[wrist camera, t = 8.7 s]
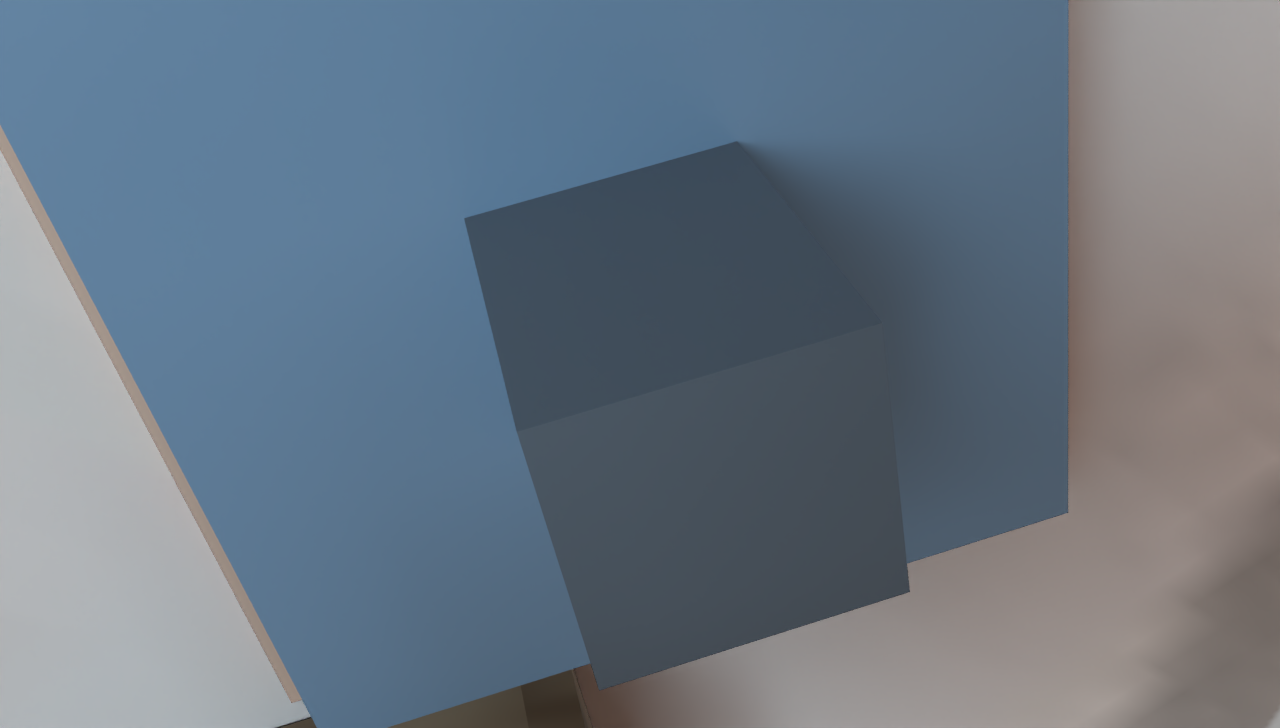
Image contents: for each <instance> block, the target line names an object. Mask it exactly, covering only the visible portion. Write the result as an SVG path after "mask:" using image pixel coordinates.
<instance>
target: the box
mask: <svg viewBox="0 0 1280 728" xmlns="http://www.w3.org/2000/svg"><path fill="white" fill-rule="evenodd" d="M281 728H317V727H316V725H315V723H314V721H313V719H312V718H310V719H306V720H303V721H300V722H297V723H293V724H290V725H287V726H284V727H281ZM387 728H592V724H591V721H590V718H589V715H588V712H587V709H586V706H585V703H584V700H583V697H582V694H581V691H580V688H579V684H578V681H577V678H576V675H575V672H574V669H571V670H568V671H565V672H562V673H558V674H555V675H552V676H549V677H546V678H543V679H539V680H536V681H533V682H530V683H527V684H524V685H520V686H517V687H514V688H511V689H508V690H505V691H501V692H498V693H495V694H492V695H489V696H486V697H482V698H479V699H476V700H473V701H470V702H467V703H463V704H460V705H457V706H454V707H451V708H448V709H444V710H441V711H438V712H435V713H432V714H429V715H425V716H422V717H419V718H416V719H413V720H410V721H406V722H403V723H400V724H397V725H394V726H391V727H387Z"/></svg>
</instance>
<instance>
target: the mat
mask: <svg viewBox="0 0 1280 728" xmlns="http://www.w3.org/2000/svg"><path fill="white" fill-rule="evenodd" d="M0 150H1V152H2V154H3V156H4V158H5V159H6V161H7V163H8V165H9V167H10V169H11V171H12V173H13V175H14V177H15V178H16V180H17V182H18V184H19V186H20V188H21V190H22V192H23V194H24V196H25V197H26V199H27V201H28V203H29V205H30V207H31V209H32V211H33V213H34V215H35V216H36V218H37V220H38V222H39V224H40V226H41V228H42V230H43V232H44V234H45V235H46V237H47V239H48V241H49V243H50V245H51V247H52V249H53V251H54V253H55V254H56V256H57V258H58V260H59V262H60V264H61V266H62V268H63V270H64V272H65V273H66V275H67V277H68V279H69V281H70V283H71V285H72V287H73V289H74V291H75V292H76V294H77V296H78V298H79V300H80V302H81V304H82V306H83V308H84V310H85V311H86V313H87V315H88V317H89V319H90V321H91V323H92V325H93V327H94V329H95V330H96V332H97V334H98V336H99V338H100V340H101V342H102V344H103V346H104V348H105V349H106V351H107V353H108V355H109V357H110V359H111V361H112V363H113V365H114V367H115V368H116V370H117V372H118V374H119V376H120V378H121V380H122V382H123V384H124V386H125V387H126V389H127V391H128V393H129V395H130V397H131V399H132V401H133V403H134V405H135V406H136V408H137V410H138V412H139V414H140V416H141V418H142V420H143V422H144V424H145V425H146V427H147V429H148V431H149V433H150V435H151V437H152V439H153V441H154V443H155V444H156V446H157V448H158V450H159V452H160V454H161V456H162V458H163V460H164V462H165V463H166V465H167V467H168V469H169V471H170V473H171V475H172V477H173V479H174V481H175V482H176V484H177V486H178V488H179V490H180V492H181V494H182V496H183V498H184V500H185V501H186V503H187V505H188V507H189V509H190V511H191V513H192V515H193V517H194V519H195V520H196V522H197V524H198V526H199V528H200V530H201V532H202V534H203V536H204V538H205V539H206V541H207V543H208V545H209V547H210V549H211V551H212V553H213V555H214V557H215V558H216V560H217V562H218V564H219V566H220V568H221V570H222V572H223V574H224V576H225V577H226V579H227V581H228V583H229V585H230V587H231V589H232V591H233V593H234V595H235V596H236V598H237V600H238V602H239V604H240V606H241V608H242V610H243V612H244V614H245V615H246V617H247V619H248V621H249V623H250V625H251V627H252V629H253V631H254V633H255V634H256V636H257V638H258V640H259V642H260V644H261V646H262V648H263V650H264V652H265V653H266V655H267V657H268V659H269V661H270V663H271V665H272V667H273V669H274V671H275V672H276V674H277V676H278V678H279V680H280V682H281V684H282V686H283V688H284V690H285V691H286V693H287V695H288V697H289V699H290V701H291V703H293V702H297V701H300V700H302V698H301V696H300V695H299V693H298V691H297V689H296V687H295V685H294V683H293V681H292V679H291V677H290V676H289V674H288V672H287V670H286V668H285V666H284V664H283V662H282V660H281V658H280V657H279V655H278V653H277V651H276V649H275V647H274V645H273V643H272V641H271V639H270V637H269V636H268V634H267V632H266V630H265V628H264V626H263V624H262V622H261V620H260V618H259V617H258V615H257V613H256V611H255V609H254V607H253V605H252V603H251V601H250V599H249V598H248V596H247V594H246V592H245V590H244V588H243V586H242V584H241V582H240V580H239V578H238V577H237V575H236V573H235V571H234V569H233V567H232V565H231V563H230V561H229V559H228V558H227V556H226V554H225V552H224V550H223V548H222V546H221V544H220V542H219V540H218V538H217V537H216V535H215V533H214V531H213V529H212V527H211V525H210V523H209V521H208V519H207V518H206V516H205V514H204V512H203V510H202V508H201V506H200V504H199V502H198V500H197V499H196V497H195V495H194V493H193V491H192V489H191V487H190V485H189V483H188V481H187V479H186V478H185V476H184V474H183V472H182V470H181V468H180V466H179V464H178V462H177V460H176V459H175V457H174V455H173V453H172V451H171V449H170V447H169V445H168V443H167V441H166V440H165V438H164V436H163V434H162V432H161V430H160V428H159V426H158V424H157V422H156V420H155V419H154V417H153V415H152V413H151V411H150V409H149V407H148V405H147V403H146V401H145V400H144V398H143V396H142V394H141V392H140V390H139V388H138V386H137V384H136V382H135V381H134V379H133V377H132V375H131V373H130V371H129V369H128V367H127V365H126V363H125V361H124V360H123V358H122V356H121V354H120V352H119V350H118V348H117V346H116V344H115V342H114V341H113V339H112V337H111V335H110V333H109V331H108V329H107V327H106V325H105V323H104V321H103V320H102V318H101V316H100V314H99V312H98V310H97V308H96V306H95V304H94V302H93V301H92V299H91V297H90V295H89V293H88V291H87V289H86V287H85V285H84V283H83V282H82V280H81V278H80V276H79V274H78V272H77V270H76V268H75V266H74V264H73V262H72V261H71V259H70V257H69V255H68V253H67V251H66V249H65V247H64V245H63V243H62V242H61V240H60V238H59V236H58V234H57V232H56V230H55V228H54V226H53V224H52V223H51V221H50V219H49V217H48V215H47V213H46V211H45V209H44V207H43V205H42V203H41V202H40V200H39V198H38V196H37V194H36V192H35V190H34V188H33V186H32V184H31V183H30V181H29V179H28V177H27V175H26V173H25V171H24V169H23V167H22V165H21V164H20V162H19V160H18V158H17V156H16V154H15V152H14V150H13V148H12V146H11V144H10V143H9V141H8V139H7V137H6V135H5V133H4V131H3V129H2V127H1V125H0Z"/></svg>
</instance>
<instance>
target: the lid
mask: <svg viewBox="0 0 1280 728" xmlns="http://www.w3.org/2000/svg"><path fill="white" fill-rule="evenodd" d="M0 125H1V127H2V129H3V131H4V133H5V135H6V137H7V139H8V141H9V143H10V144H11V146H12V148H13V150H14V152H15V154H16V156H17V158H18V160H19V162H20V164H21V165H22V167H23V169H24V171H25V173H26V175H27V177H28V179H29V181H30V183H31V184H32V186H33V188H34V190H35V192H36V194H37V196H38V198H39V200H40V202H41V203H42V205H43V207H44V209H45V211H46V213H47V215H48V217H49V219H50V221H51V223H52V224H53V226H54V228H55V230H56V232H57V234H58V236H59V238H60V240H61V242H62V243H63V245H64V247H65V249H66V251H67V253H68V255H69V257H70V259H71V261H72V262H73V264H74V266H75V268H76V270H77V272H78V274H79V276H80V278H81V280H82V282H83V283H84V285H85V287H86V289H87V291H88V293H89V295H90V297H91V299H92V301H93V302H94V304H95V306H96V308H97V310H98V312H99V314H100V316H101V318H102V320H103V321H104V323H105V325H106V327H107V329H108V331H109V333H110V335H111V337H112V339H113V341H114V342H115V344H116V346H117V348H118V350H119V352H120V354H121V356H122V358H123V360H124V361H125V363H126V365H127V367H128V369H129V371H130V373H131V375H132V377H133V379H134V381H135V382H136V384H137V386H138V388H139V390H140V392H141V394H142V396H143V398H144V400H145V401H146V403H147V405H148V407H149V409H150V411H151V413H152V415H153V417H154V419H155V420H156V422H157V424H158V426H159V428H160V430H161V432H162V434H163V436H164V438H165V440H166V441H167V443H168V445H169V447H170V449H171V451H172V453H173V455H174V457H175V459H176V460H177V462H178V464H179V466H180V468H181V470H182V472H183V474H184V476H185V478H186V479H187V481H188V483H189V485H190V487H191V489H192V491H193V493H194V495H195V497H196V499H197V500H198V502H199V504H200V506H201V508H202V510H203V512H204V514H205V516H206V518H207V519H208V521H209V523H210V525H211V527H212V529H213V531H214V533H215V535H216V537H217V538H218V540H219V542H220V544H221V546H222V548H223V550H224V552H225V554H226V556H227V558H228V559H229V561H230V563H231V565H232V567H233V569H234V571H235V573H236V575H237V577H238V578H239V580H240V582H241V584H242V586H243V588H244V590H245V592H246V594H247V596H248V598H249V599H250V601H251V603H252V605H253V607H254V609H255V611H256V613H257V615H258V617H259V618H260V620H261V622H262V624H263V626H264V628H265V630H266V632H267V634H268V636H269V637H270V639H271V641H272V643H273V645H274V647H275V649H276V651H277V653H278V655H279V657H280V658H281V660H282V662H283V664H284V666H285V668H286V670H287V672H288V674H289V676H290V677H291V679H292V681H293V683H294V685H295V687H296V689H297V691H298V693H299V695H300V696H301V698H302V700H303V702H304V704H305V706H306V708H307V710H308V712H309V714H310V716H311V717H312V719H313V721H314V723H315V725H316V727H317V728H387V727H391V726H394V725H397V724H400V723H403V722H406V721H410V720H413V719H416V718H419V717H422V716H425V715H429V714H432V713H435V712H438V711H441V710H444V709H448V708H451V707H454V706H457V705H460V704H463V703H467V702H470V701H473V700H476V699H479V698H482V697H486V696H489V695H492V694H495V693H498V692H501V691H505V690H508V689H511V688H514V687H517V686H520V685H524V684H527V683H530V682H533V681H536V680H539V679H543V678H546V677H549V676H552V675H555V674H558V673H562V672H565V671H568V670H571V669H574V668H577V667H581V666H584V665H587V664H590V663H591V666H592V669H593V673H594V676H595V679H596V682H597V685H598V688H599V690H603V689H606V688H609V687H612V686H615V685H618V684H621V683H625V682H628V681H631V680H634V679H637V678H640V677H643V676H647V675H650V674H653V673H656V672H659V671H662V670H665V669H669V668H672V667H675V666H678V665H681V664H684V663H687V662H691V661H694V660H697V659H700V658H703V657H706V656H710V655H713V654H716V653H719V652H722V651H725V650H728V649H732V648H735V647H738V646H741V645H744V644H747V643H750V642H754V641H757V640H760V639H763V638H766V637H769V636H772V635H776V634H779V633H782V632H785V631H788V630H791V629H794V628H798V627H801V626H804V625H807V624H810V623H813V622H816V621H820V620H823V619H826V618H829V617H832V616H835V615H839V614H842V613H845V612H848V611H851V610H854V609H857V608H861V607H864V606H867V605H870V604H873V603H876V602H879V601H883V600H886V599H889V598H892V597H895V596H898V595H901V594H905V593H908V592H910V590H909V580H908V570H907V563H910V562H913V561H916V560H920V559H923V558H926V557H929V556H932V555H935V554H939V553H942V552H945V551H948V550H951V549H954V548H958V547H961V546H964V545H967V544H970V543H973V542H977V541H980V540H983V539H986V538H989V537H992V536H996V535H999V534H1002V533H1005V532H1008V531H1011V530H1015V529H1018V528H1021V527H1024V526H1027V525H1030V524H1034V523H1037V522H1040V521H1043V520H1046V519H1049V518H1053V517H1056V516H1059V515H1062V514H1065V513H1068V0H0Z"/></svg>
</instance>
